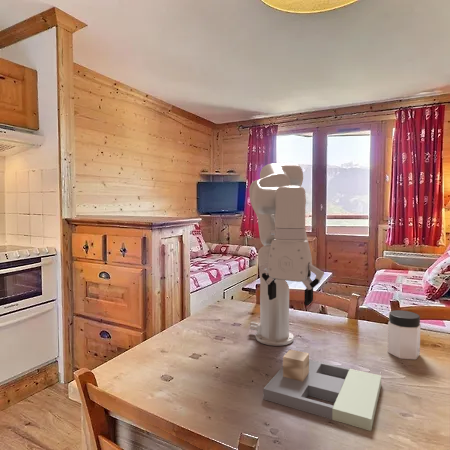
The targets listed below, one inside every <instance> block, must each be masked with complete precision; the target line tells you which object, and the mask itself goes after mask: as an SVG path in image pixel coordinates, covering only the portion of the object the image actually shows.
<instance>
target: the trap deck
mask: <svg viewBox="0 0 450 450" xmlns="http://www.w3.org/2000/svg"><path fill="white" fill-rule="evenodd" d="M381 388H382V375H381V374H375V373H371V372H367V371H362V370H361V371H360V370H357V369H353V368H350V367H346V366H341V365H336V364H332V363H328V362H322V361H319V360H313V359H310V358H309V373H308V375H307V376H306V378H305V379H304V381H303V382H302V381H298V380H294V379H290V378H287V377H283V365H282V366H281V368H279V370H277V372H276V373H275V374H274V376H273V377H272V378H271V379H270V380H269V382H268V383H267V384H266V385H265V386H264V387H263V389H262V390H263V392H262V393H263V400H265V401H269V402H272V403H274V404H278V405H282V406H284V407H289V408H290V409H295V410H297V411H298V410H299V411H302V412H305V413H309V414H312V415H316V416H319V417H323V418H325V419H329V420H332V421H335V422H340V423H343V424H346V425H349V426H353V427H357V428H359V429H362V430H366V431H369V432H372V430H373V426H374V420H375V415H376V412H377V407H378V406H377V405H378V403H379V402H378V401H379V397H380V393H381ZM308 396H309V397H312V398H316V399H320V400H324V401H326V402H330V403H333V405H332V404H330V403H325V402H321V401H319V400H316V399H311V398H308Z"/></svg>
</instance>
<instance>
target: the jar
mask: <svg viewBox="0 0 450 450" xmlns="http://www.w3.org/2000/svg"><path fill="white" fill-rule="evenodd" d="M388 320H389V321H388V322H387V353H389V354H391V355H393V356H394V357H396V358H397V359H401V360H402V359H403V360H415V361H416V360H417V359H418V358H419V356H420V354H421V351H420V350H421V325H422V324H421V316H420V314H419V313H418V314H417V313H416V312H412V311H407V310H403V309H402V310H400V309H399V310H397V309H396V310H391V311H390V312H389V315H388Z"/></svg>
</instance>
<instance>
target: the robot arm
mask: <svg viewBox="0 0 450 450" xmlns="http://www.w3.org/2000/svg"><path fill="white" fill-rule="evenodd" d="M303 180H304V171H303V169H302V167H301V166H300V165H299V164H297V163H294V162H293V163H290V162H287V163H286V162H285V163H283V162H280V163H279V162H278V163H267V164H266V165H264V166H263V167H262V168H261V170H260V173H259V179H255V180H254V181H252V182H251V184H250V186H249V201H250V204H251V207H252V209H253V211H254V213H255V215H256V218H257V225H258V232H259V239H260V242H261V245H263V246H261V247H260V248H259V249H258V252H257V264H258V269H259V270H258V271H259V283H260V284H259V286H260V287H259V291H260V295H259V300H260V303H259V308H260V309H259V312H260V313H259V314H260V317H259V319H260V321H259V323H258V322H254V321H250V323H249V329H250V330H252V331H256V333H255V340H256V341H257V342H258V343H261V344H264V345H266V346H267V345H268V346H272V347H273V346H275V347H278V346H280V347H281V346H286V345H290V344H292V343H293V342H294V339H295V336H294V334H293V333H292V332H290V286H289V284H288V282H287V281H289V282H297V283H298V282H299V283H300V282H301V283H302V284H303V285H304V287H305V289H304V304H303V305H304V306H309V305H310V304H312V302H313V301H314V288H315V287H316V286H318V285H319V283H320V282H321V281H322V279H323V277H324V276H325V272H324V271H323V270H321V269H320V268H318V267H317V266H315V265H313V258H312V253H311V247H310V243H309V239H308V235H307V231H306V206H307V205H306V203H307V197H306V189H305V188H304V187H303V186H302V185H303V182H304V181H303ZM312 273H313V274H314V275H315V277H314V279H311V275H312Z"/></svg>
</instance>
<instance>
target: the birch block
mask: <svg viewBox="0 0 450 450" xmlns="http://www.w3.org/2000/svg"><path fill="white" fill-rule="evenodd" d="M309 359H310V353H308V352H305V351H301V350H295V349H289V350H288V351H287V352H286V353H284V355H283V356H282V366H283V377H287V378H290V379H294V380H298V381H302V382H303V381H304V379H305V378H306V376H307V375H308V373H309Z"/></svg>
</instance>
